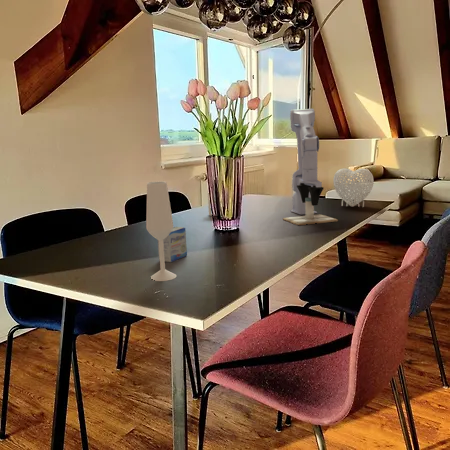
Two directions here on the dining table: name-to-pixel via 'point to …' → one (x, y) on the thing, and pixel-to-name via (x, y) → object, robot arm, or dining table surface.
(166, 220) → the champagne flute
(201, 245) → the dining table surface
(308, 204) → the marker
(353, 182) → the decorative heart
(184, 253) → the medicine box
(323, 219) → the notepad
